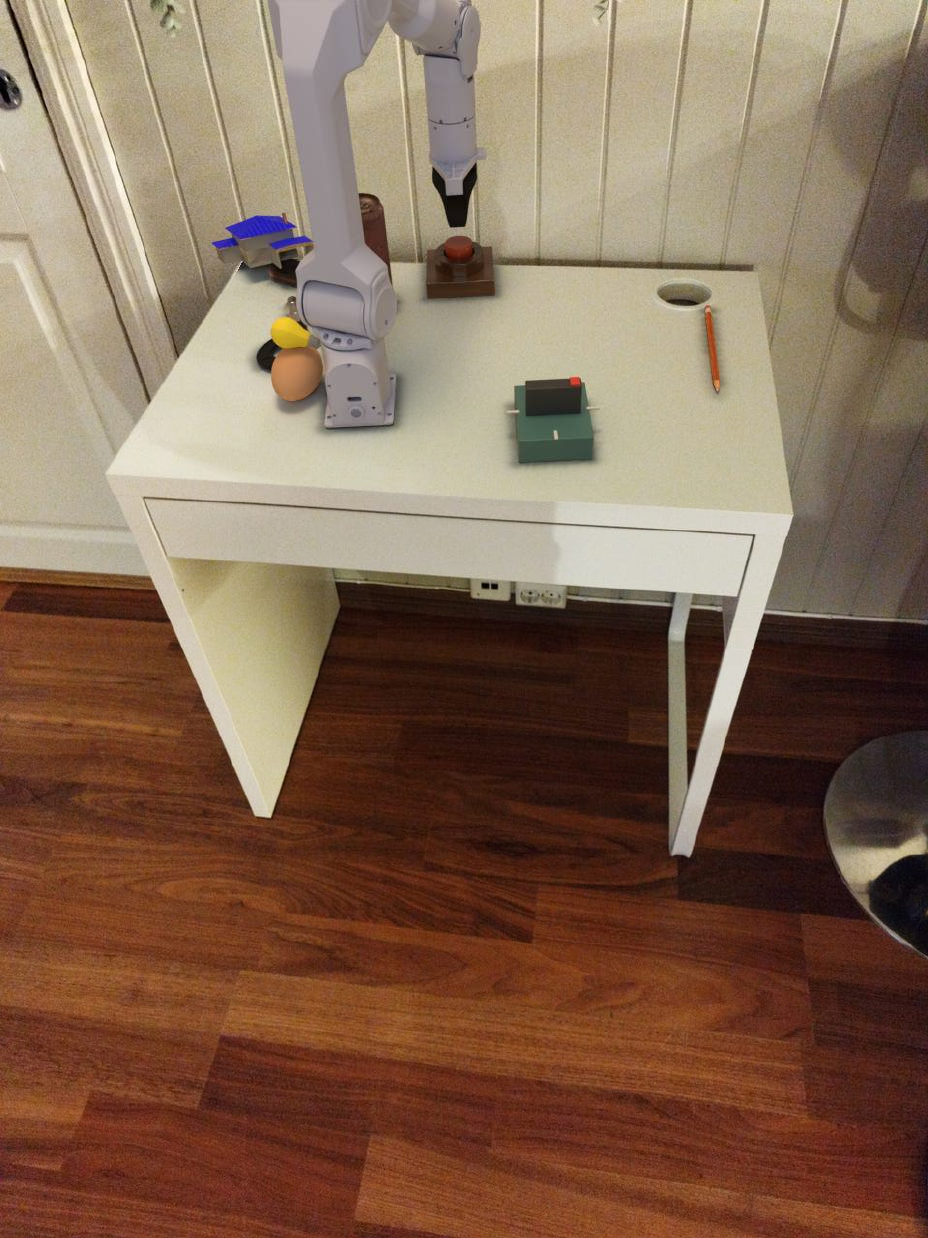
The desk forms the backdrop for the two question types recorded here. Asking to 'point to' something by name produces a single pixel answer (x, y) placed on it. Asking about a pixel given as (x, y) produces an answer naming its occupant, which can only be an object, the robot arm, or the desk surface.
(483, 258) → the button block
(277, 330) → the light bulb
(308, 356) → the egg
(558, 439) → the panel
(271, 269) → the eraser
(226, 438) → the desk surface
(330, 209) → the robot arm
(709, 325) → the pencil
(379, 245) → the can
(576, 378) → the battery with red terminal
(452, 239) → the button
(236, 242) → the house
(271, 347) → the micrometer
